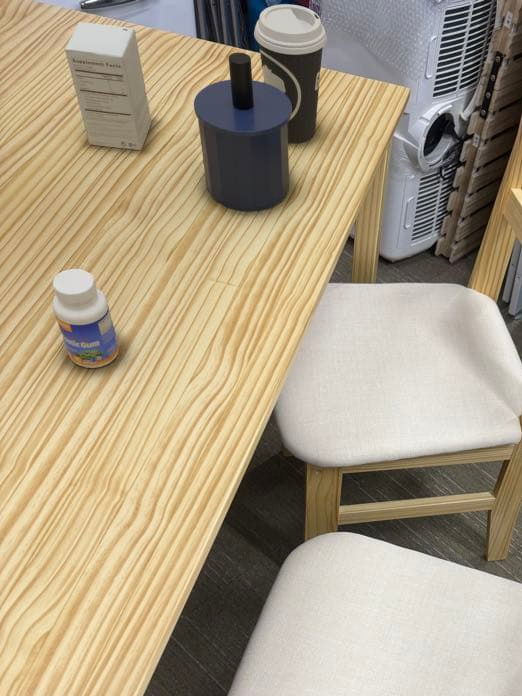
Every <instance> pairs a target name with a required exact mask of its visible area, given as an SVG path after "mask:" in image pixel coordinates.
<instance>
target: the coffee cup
mask: <svg viewBox="0 0 522 696" xmlns="http://www.w3.org/2000/svg"><path fill="white" fill-rule="evenodd" d="M253 36H254V39H255V40H256V42H257V43H258V47H259V48H258V49H259V54H260V55H259V56H260V63H261V68H262V70H261V71H262V76H263V83H266V84H269V85H272V86H274V87H276V88H278V89H279V90H281V91H282V92H283V93H284V94H286V96H287V97H288V98H289V100H290V102H291V104H292V115H291V118H290V120H289V121H288V144H302V143H306V142H309V141H311V140H312V139H313V138H314V137H315V135H316V126H317V114H318V103H319V92H320V80H321V71H322V70H321V69H322V68H321V67H322V58H323V49H324V46H325V45H326V43H327V40H328V37H327V32H326V30H325V27H324V25H323V24H322V20H321V18H320V16H319V14H318V13H317V12H315V11H314V10H312V9H311V8H308V7H305V6H302V5H298V4H288V3H285V4H284V3H283V4H282V3H281V4H274V5H271V6H268V7H266V8H264V9H263V10H262V11H261V12H260V14H259V18H258V20H257V21H256V23H255V26H254V31H253Z"/></svg>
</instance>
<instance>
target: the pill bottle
mask: <svg viewBox="0 0 522 696" xmlns="http://www.w3.org/2000/svg"><path fill="white" fill-rule="evenodd" d="M52 286H53V289H54V293H55V295H54V297H53V300H52V309H53V313H54V315H55V319H56V322H57V325H58V327H59V330H60V333H61V336H62V339H63V342H64V346H65V348H66V351H67V354H68V357H69V358H70V360H71V361H72V362H73V363H75V364H76V365H78V366H79V367H83V368H86V369H87V368H88V369H97V368H101V367H104V366H107V365H109V364H110V363H112V362H113V361H114V360H115V359H116V358H117V356H118V354H119V351H120V345H119V341H118V337H117V333H116V329H115V326H114V321H113V318H112V314H111V310H110V307H109V303H108V301H107V297H106V295H105V294H104V292H103V291H101V289H99V288H97V287H98V286H97V284H96V282H95V279H94V276H93V274H92V273H90V272H89V271H87V270H84V269H80V268H69V269H65V270H62V271H60V272H59V273H58V274H56V275H55V276H54V278H53V281H52Z"/></svg>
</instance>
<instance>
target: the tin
mask: <svg viewBox="0 0 522 696" xmlns="http://www.w3.org/2000/svg"><path fill="white" fill-rule="evenodd" d="M197 122H198V131H199V139H200V146H201V152H202V162H203V169H204V178H205V184H206V187H207V191H208V194H209V196H210V197H211V198H212V199H213V200H214V201H215V202H217V204H219V205H222V206H223V207H225V208H228V209H231V210H235V211H239V212H240V211H242V212H260V211H264V210H269V209H272V208H274V207H277V206H278V205H280V204H281V203H282V202H283V201H284V200H286V198H287V197H288V195H289V192H290V161H289V160H290V159H289V158H290V157H289V143H288V123H287V124H286V125H284V126H283V127H282V128H280V129H278V130H276V131H274V132H272V133H268V134H264V135H259V136H234V135H228V134H224V133H221V132H218V131H215V130H213V129H211V128H209V127H207V126H206V125H204V124H203V123H202V122H201V121H200V120H199V119H198V118H197Z"/></svg>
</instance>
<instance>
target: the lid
mask: <svg viewBox="0 0 522 696" xmlns="http://www.w3.org/2000/svg"><path fill="white" fill-rule="evenodd" d="M228 68H229V79H226V80H220V81H216V82H213V83H211V84H208V85H207V86H205V87H204V88H202V89H201V90H199V92H198V93H197V94H196V95H195V97H194V101H193V109H194V113H195V116H196V118H197V120H198V119H199V120H200V121H201V122H202V123H203V124H204V125H206V126H207V127H209V128H211V129H213V130H215V131H218V132H221V133H224V134H228V135H234V136H259V135H264V134H268V133H272V132H274V131H276V130H278V129H280V128H282V127H283V126H284V125H286V124H287V123H288V121H289V120H290V118H291V115H292V104H291V102H290V100H289V98H288V97H287V96H286V94H284V93H283V92H282V91H281V90H279V89H278V88H276V87H274V86H272V85H269V84H266V83H264V81H259V80H254V79H253V72H252V71H253V70H252V69H253V68H252V58H251V56H250V55H249V54H247V53H244V52H234V53H231V54H229V56H228Z"/></svg>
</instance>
